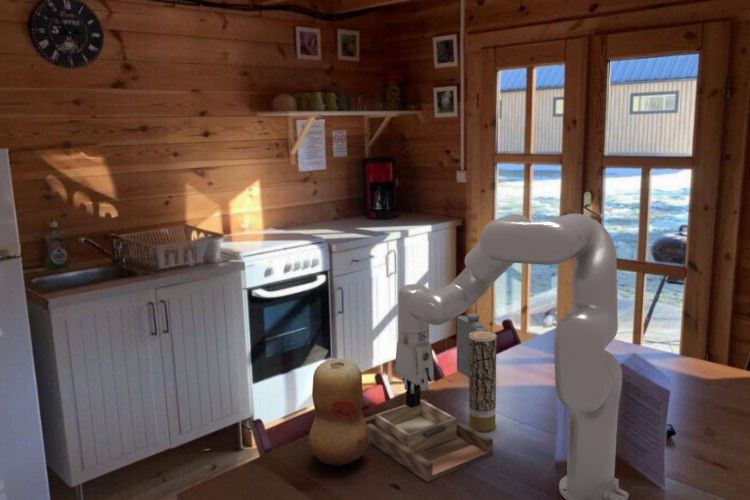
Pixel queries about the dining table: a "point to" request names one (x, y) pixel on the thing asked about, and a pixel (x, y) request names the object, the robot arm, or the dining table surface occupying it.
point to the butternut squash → (338, 413)
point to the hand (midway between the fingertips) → (413, 405)
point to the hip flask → (466, 339)
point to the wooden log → (482, 380)
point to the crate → (417, 425)
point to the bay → (434, 450)
